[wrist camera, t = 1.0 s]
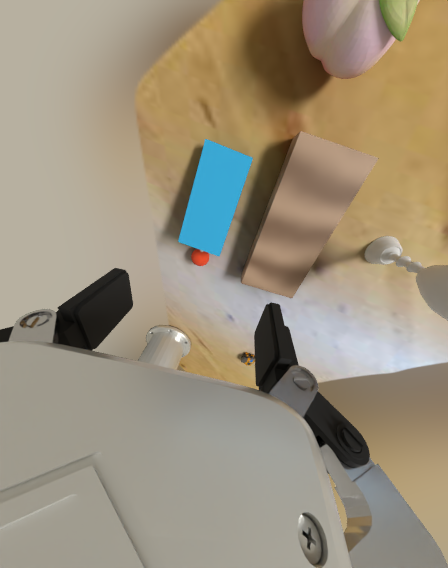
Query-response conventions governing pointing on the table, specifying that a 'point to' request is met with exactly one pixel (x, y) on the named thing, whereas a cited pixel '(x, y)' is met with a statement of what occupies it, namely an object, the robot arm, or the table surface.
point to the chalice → (431, 281)
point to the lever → (213, 200)
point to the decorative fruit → (354, 32)
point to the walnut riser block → (303, 211)
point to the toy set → (248, 359)
